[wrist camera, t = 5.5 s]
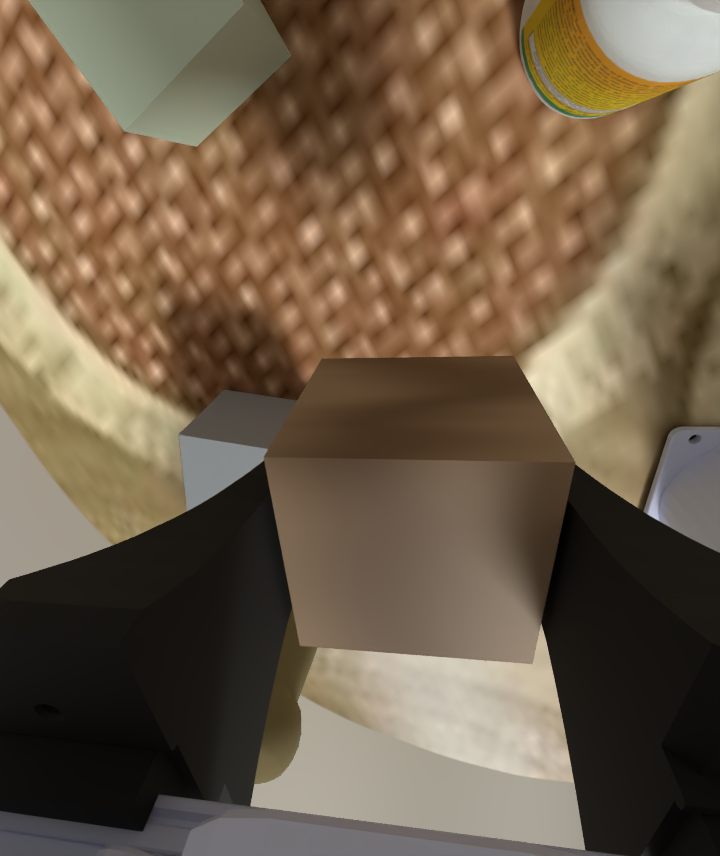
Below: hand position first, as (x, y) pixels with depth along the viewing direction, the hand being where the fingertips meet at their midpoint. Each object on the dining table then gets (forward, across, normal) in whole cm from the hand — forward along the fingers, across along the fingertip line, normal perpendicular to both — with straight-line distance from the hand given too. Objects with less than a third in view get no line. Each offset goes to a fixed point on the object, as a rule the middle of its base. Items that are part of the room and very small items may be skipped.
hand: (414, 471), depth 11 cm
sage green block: (+10, +8, -12) cm, 18 cm away
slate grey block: (+10, +8, +5) cm, 14 cm away
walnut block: (+2, 0, 0) cm, 2 cm away
